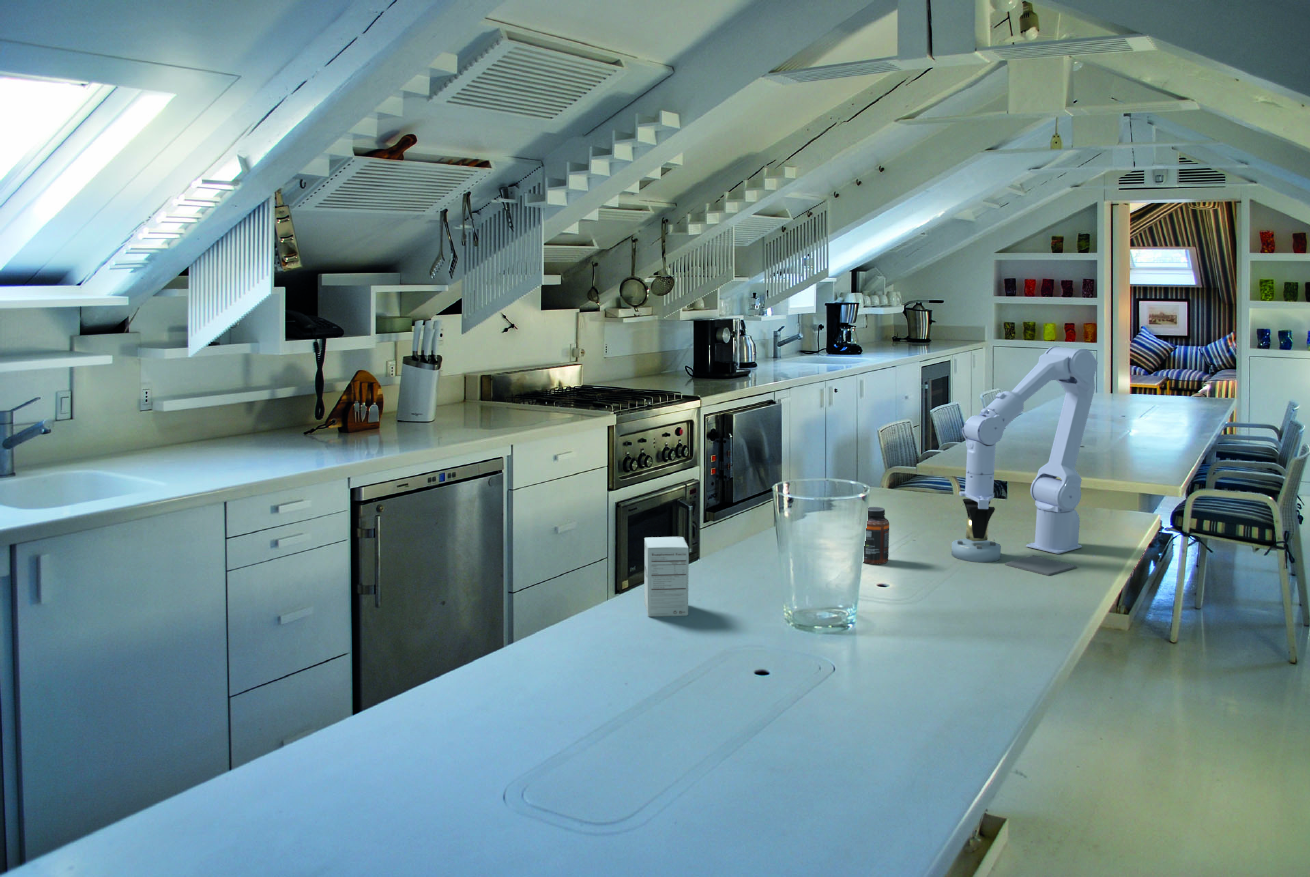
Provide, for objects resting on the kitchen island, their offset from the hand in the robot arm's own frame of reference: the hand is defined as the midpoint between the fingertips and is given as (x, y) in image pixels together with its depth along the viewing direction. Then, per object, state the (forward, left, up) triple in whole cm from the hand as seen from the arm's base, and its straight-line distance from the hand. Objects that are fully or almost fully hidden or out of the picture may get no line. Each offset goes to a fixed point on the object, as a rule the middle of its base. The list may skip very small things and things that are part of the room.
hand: (976, 535), depth 226 cm
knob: (0, 0, -1) cm, 1 cm away
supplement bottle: (+21, -10, -5) cm, 24 cm away
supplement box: (+76, -10, -5) cm, 77 cm away
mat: (-4, +13, -4) cm, 14 cm away
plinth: (0, 0, -4) cm, 4 cm away
